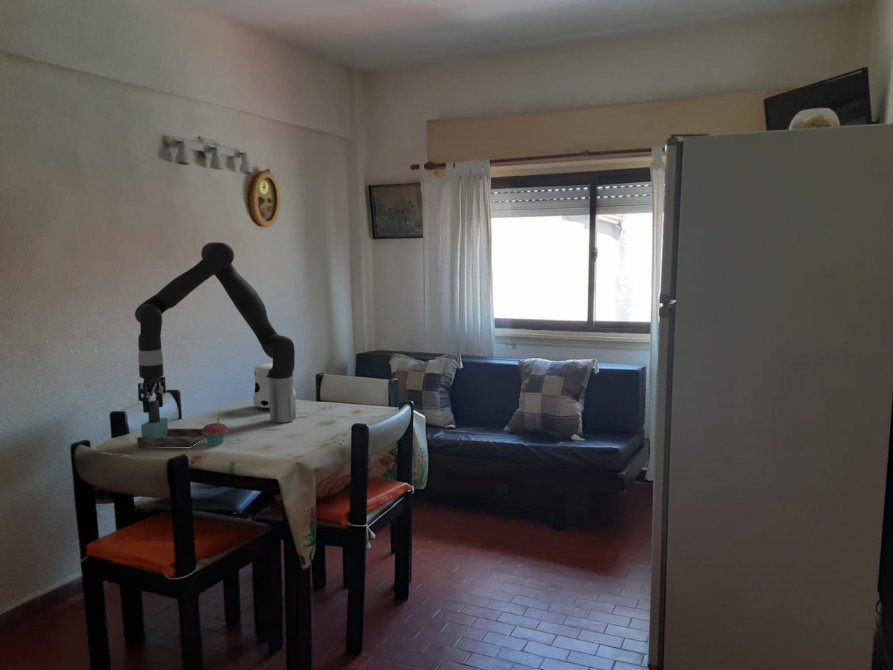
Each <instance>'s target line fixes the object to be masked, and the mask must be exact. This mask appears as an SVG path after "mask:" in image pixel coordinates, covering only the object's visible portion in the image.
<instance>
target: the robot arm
mask: <svg viewBox="0 0 893 670" xmlns="http://www.w3.org/2000/svg"><path fill="white" fill-rule="evenodd" d="M234 252H235V251H234V250H233V248H232V247H231V246H230V245H229V244H228V243H225V242H221V241H220V242H218V241H217V242H215V241H214V242H208V243H206V244H205V245H204V246H203V247H202V248H201V254H200V255H201V258H202V259H201V260H200V261H199V262H198V263H196V264H195V265H194V266H193V267H191V268H190V269H188V270H186V271H185V272H183V273H182V274H179V275H178V276H176V277H175V278H173V279H172V280H171V281H169V282H168V283H167V284H166V285H165V286H164V287H163V288H161V289H160V290H159V291H158V292H157V293H155V294H154V295H152V296H151V297H149V298H148V299H146V300H144V301H143V302H142V303H141V304H139V306H137V307H136V310H135V313H134V318H135V319H136V321H137V322H138V323H139V324H140V329H139V330H140V333H139V334H138V338H137V339H138V341H137V342H138V343H137V344H138V357H137V358H138V373H139V375H138V376H139V378H141V379H143V382H139V383H137V395H138V396H137V398H138V399H137V401H139V402H142V412H143V413H144V414H148V413H149V412H151V408H150V401H151V400H152V399H151V398H152V397H153V396H154V395H155V400H157V401H159V408H163V407H164V401H163V400H164V399H163V397H164V394H166V393H167V387H166V386H167V384H166V376H164V360H163V359H164V358H163V350H162V337H161V334H162V327H163V314H164V313H165V312H166V311H167V310H169V309H172V308H174V307H175V306H177V305H178V304H179V303H180V302H182V301H183V300H184V299H185V298H186V297H187V296H188V295H190V294H191V293H192V292H193V291H194V290H195V289H197V288H198V287H199V286H200V285H201V284H203V283H204V282H206V281H207V280H208V279H210V278H211V277H212V276H214V277H216V279H217V280H218V281H219V283H220V284H221V286H222V287H223V289H224V291H225V293H226V294H227V296H228V297H229V298H230V300H231V302H232V303H233V305H234V307H235V308H236V310H237V312H238V313H239V314H240V315H241V316H242V318H243V320H244V321H245V322H246V324H247V325H248V326H249V328H250V330H251V331H252V332H253V333H254V335H255V337H256V339H257V340H258V342H259V344H260V346H261V348H262V350H263V351H264V353H265V354H266V355H267V356H268V357H269V358H271V359H272V363H273V366H272V368H271V369H270V370H269V371H268V382H269V407H270V410H269V421H270V422H271V423H277V424H278V423H291V422H293V421H294V420H295V419H297V417H296V416H297V413H296V412H297V411H296V397H295V395H296V394H295V395H293V387H294V376H293V375H294V374H293V373H294V370H295V364H296V362H295V354H296V353H295V351H296V350H295V344H294V342H293V340H292V339H291V338H290V337H288V336H285V335H279V334H278V332H277V331H276V329H274V327H273V325H272V324H271V323H270V321H269V318H268V314H267V310H266V306H265V303H264V302H263V300H262V298H261V297H260V295H259V293H257V291H256V289H254V287H253V286H252V285H251V284H250V283H249V282H248V281H247V280H246V279H245V278H244V277H242V276H241V275H240V273H239V272H238V271H237V270H236V268H235V266H234V265H233V264H232V263H233V261H234V259H235V253H234Z"/></svg>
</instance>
